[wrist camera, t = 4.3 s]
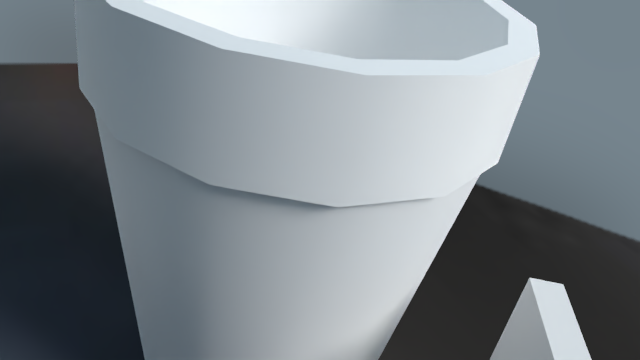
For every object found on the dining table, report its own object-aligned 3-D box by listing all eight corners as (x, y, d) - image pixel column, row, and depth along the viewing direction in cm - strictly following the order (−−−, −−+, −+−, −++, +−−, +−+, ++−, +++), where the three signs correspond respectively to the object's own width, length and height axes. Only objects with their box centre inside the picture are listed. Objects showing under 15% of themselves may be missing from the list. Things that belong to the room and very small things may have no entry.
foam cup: (115, 583, 14) (90, 75, 7) (89, 304, 21) (62, -87, 14) (446, 473, 17) (646, 75, 11) (329, 269, 24) (404, -52, 17)
